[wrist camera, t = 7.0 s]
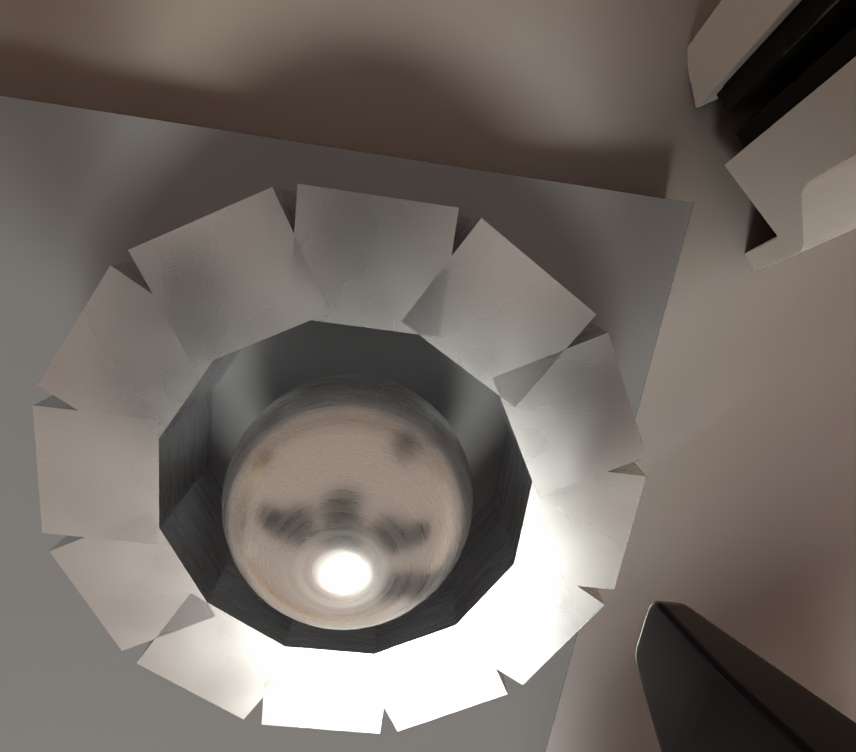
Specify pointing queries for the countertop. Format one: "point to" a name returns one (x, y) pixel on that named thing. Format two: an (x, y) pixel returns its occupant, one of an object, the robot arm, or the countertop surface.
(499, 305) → the crimped metal cup
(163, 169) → the mat
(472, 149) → the countertop surface
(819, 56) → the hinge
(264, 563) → the steel ball
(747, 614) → the countertop surface
